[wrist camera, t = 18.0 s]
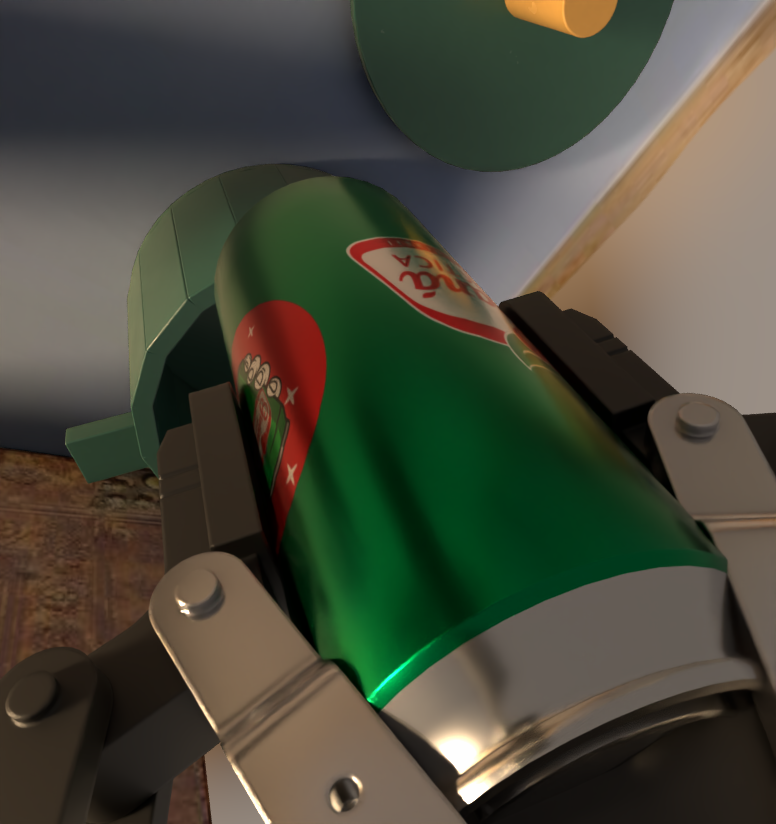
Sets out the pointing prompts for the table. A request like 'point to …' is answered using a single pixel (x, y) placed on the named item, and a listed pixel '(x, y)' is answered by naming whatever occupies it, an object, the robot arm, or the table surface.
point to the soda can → (461, 510)
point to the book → (81, 571)
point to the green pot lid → (503, 71)
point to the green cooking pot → (175, 320)
